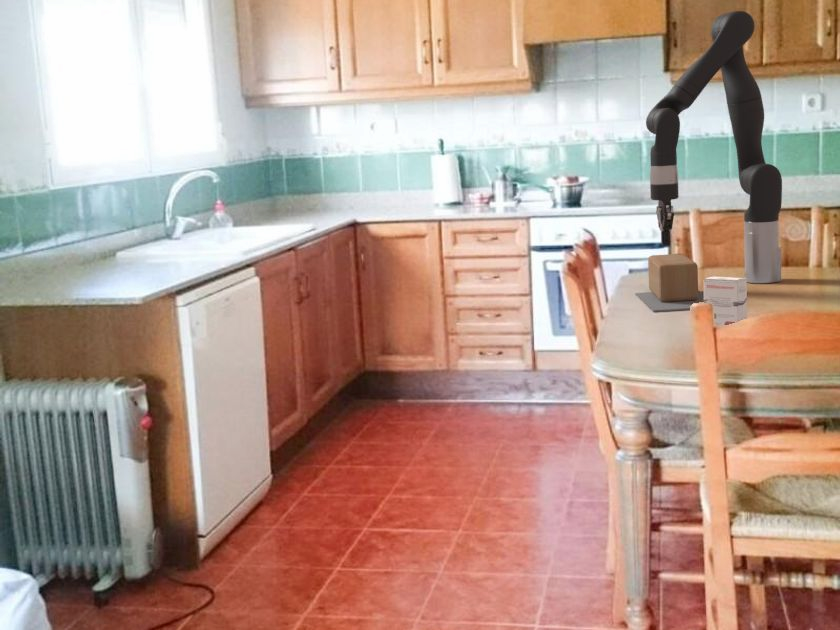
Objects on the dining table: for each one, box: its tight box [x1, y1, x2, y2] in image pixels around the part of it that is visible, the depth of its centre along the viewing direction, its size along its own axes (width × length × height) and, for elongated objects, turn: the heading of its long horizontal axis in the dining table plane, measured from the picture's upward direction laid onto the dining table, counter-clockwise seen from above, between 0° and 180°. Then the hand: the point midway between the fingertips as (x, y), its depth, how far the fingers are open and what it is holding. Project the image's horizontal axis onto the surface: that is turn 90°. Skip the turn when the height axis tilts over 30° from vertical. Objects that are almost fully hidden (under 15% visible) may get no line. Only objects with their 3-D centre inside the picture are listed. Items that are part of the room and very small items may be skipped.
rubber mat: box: [634, 289, 704, 313], centre depth 279 cm, size 17×27×1 cm, turn 178°
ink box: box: [703, 276, 748, 326], centre depth 239 cm, size 9×5×12 cm, turn 48°
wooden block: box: [647, 253, 699, 302], centre depth 284 cm, size 10×10×20 cm
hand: (665, 244), depth 293 cm, fingers closed
